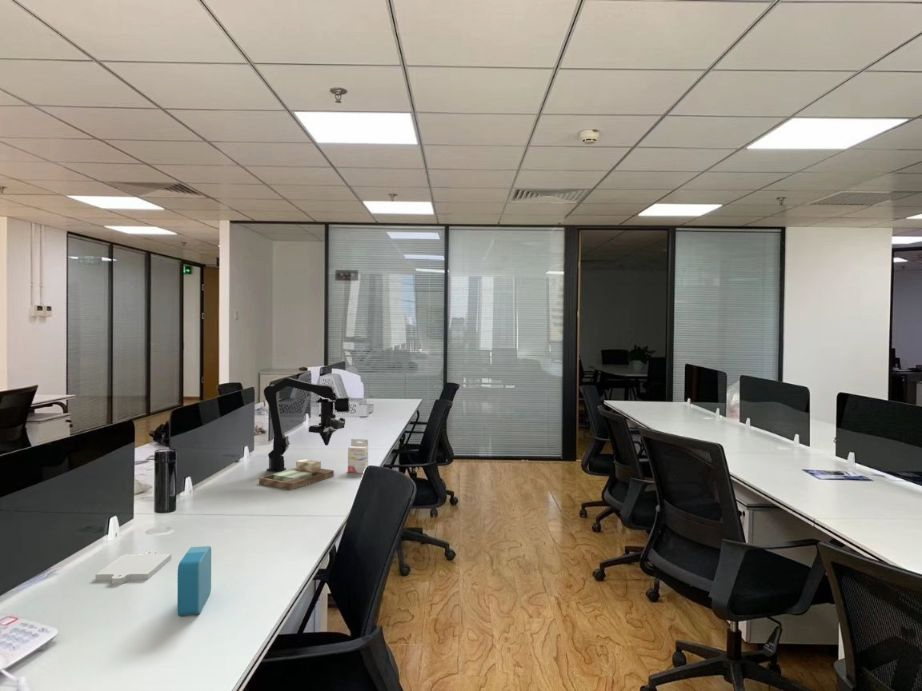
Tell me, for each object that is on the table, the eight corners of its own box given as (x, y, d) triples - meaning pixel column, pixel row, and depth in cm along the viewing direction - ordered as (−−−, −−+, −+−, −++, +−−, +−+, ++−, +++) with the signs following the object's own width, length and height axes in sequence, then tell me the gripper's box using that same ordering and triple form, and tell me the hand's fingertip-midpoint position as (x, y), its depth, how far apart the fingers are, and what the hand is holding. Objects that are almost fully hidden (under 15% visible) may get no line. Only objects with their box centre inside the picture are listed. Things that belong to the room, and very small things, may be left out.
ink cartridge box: (347, 472, 257) (347, 440, 256) (350, 470, 262) (350, 438, 261) (365, 473, 256) (365, 441, 255) (368, 470, 261) (368, 439, 260)
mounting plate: (128, 557, 158) (128, 550, 158) (175, 557, 159) (175, 550, 158) (89, 586, 140) (89, 578, 140) (142, 585, 141) (142, 578, 141)
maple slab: (296, 468, 252) (296, 461, 252) (304, 466, 256) (304, 459, 256) (312, 471, 247) (312, 463, 247) (320, 469, 252) (320, 461, 251)
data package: (191, 594, 136) (191, 544, 135) (211, 592, 137) (211, 543, 136) (177, 618, 124) (177, 564, 124) (199, 616, 125) (199, 563, 125)
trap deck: (259, 483, 235) (259, 477, 235) (303, 470, 258) (303, 465, 258) (290, 489, 227) (290, 483, 227) (333, 476, 250) (333, 470, 250)
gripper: (326, 415, 250) (326, 450, 250) (353, 411, 266) (353, 443, 267) (307, 413, 255) (307, 448, 255) (335, 409, 271) (334, 441, 272)
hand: (326, 445), depth 262 cm, fingers closed
